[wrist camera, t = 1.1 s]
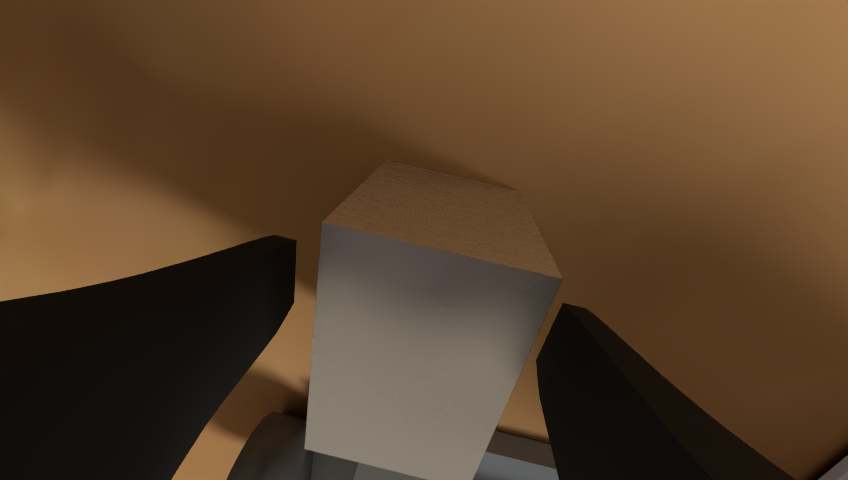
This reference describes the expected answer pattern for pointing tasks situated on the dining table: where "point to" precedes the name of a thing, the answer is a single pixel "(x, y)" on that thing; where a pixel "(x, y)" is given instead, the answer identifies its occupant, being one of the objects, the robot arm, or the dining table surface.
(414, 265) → the brushed metal block
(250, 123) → the dining table surface
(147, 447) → the robot arm
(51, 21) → the dining table surface
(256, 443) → the chassis
